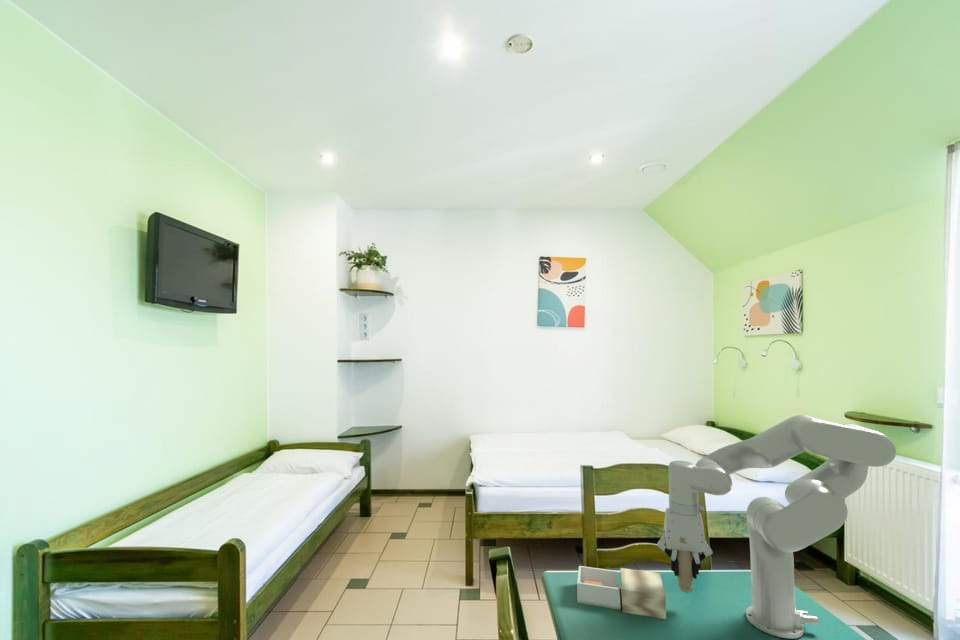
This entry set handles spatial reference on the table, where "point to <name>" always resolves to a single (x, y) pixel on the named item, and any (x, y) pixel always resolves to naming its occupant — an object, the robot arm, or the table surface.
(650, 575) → the beige textured block
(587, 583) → the tile
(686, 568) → the handle
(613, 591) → the box
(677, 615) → the table surface
